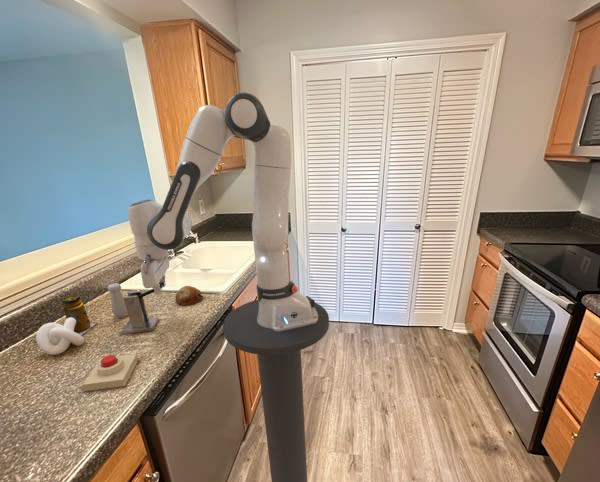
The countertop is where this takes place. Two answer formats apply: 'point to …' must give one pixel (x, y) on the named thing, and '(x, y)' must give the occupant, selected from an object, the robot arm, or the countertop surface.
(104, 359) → the button
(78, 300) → the condiment
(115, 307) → the salt shaker
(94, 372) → the button block
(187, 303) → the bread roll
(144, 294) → the switch
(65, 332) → the white knot
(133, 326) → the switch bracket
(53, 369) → the countertop surface
